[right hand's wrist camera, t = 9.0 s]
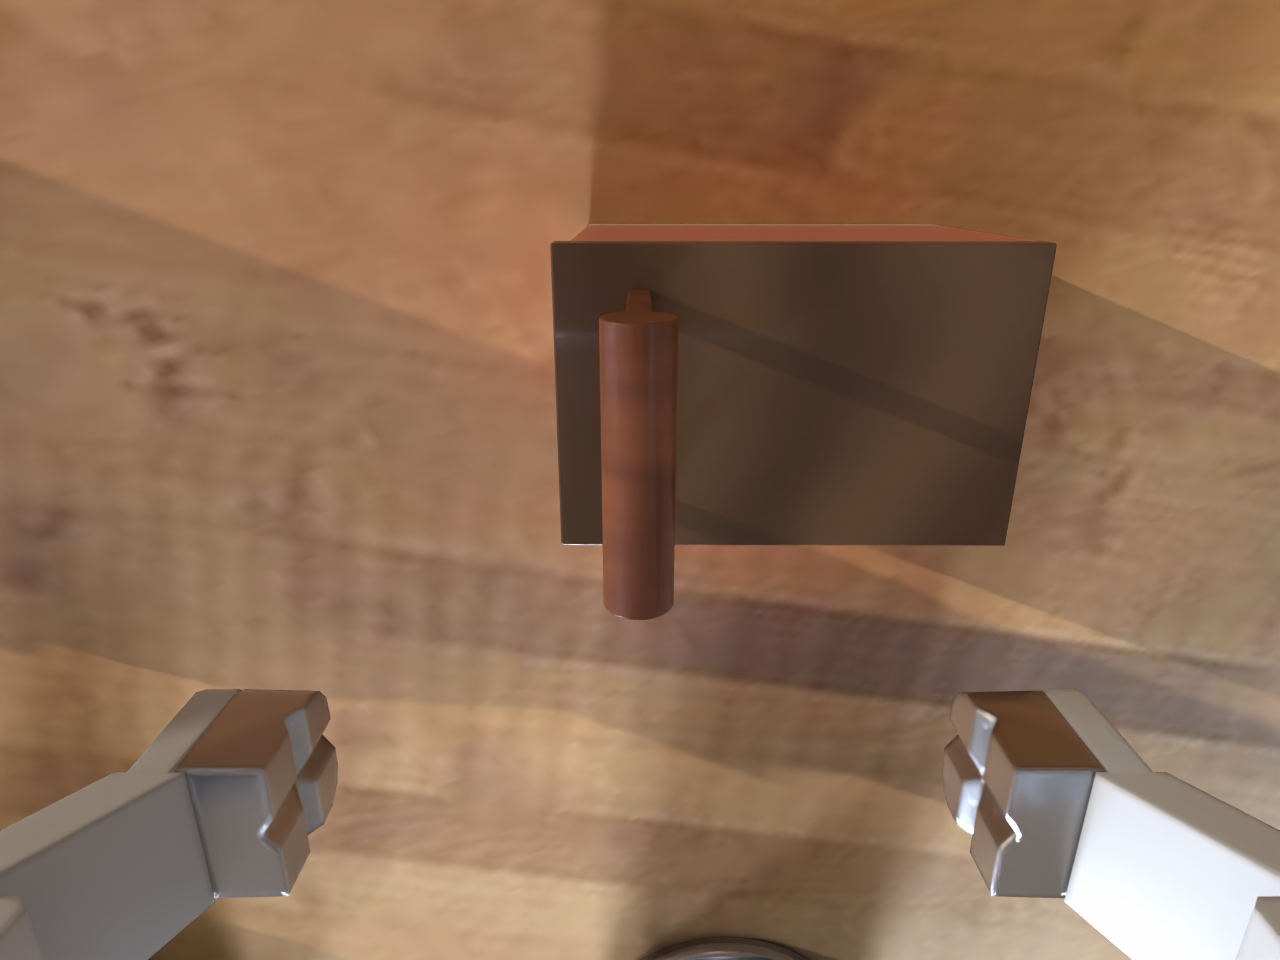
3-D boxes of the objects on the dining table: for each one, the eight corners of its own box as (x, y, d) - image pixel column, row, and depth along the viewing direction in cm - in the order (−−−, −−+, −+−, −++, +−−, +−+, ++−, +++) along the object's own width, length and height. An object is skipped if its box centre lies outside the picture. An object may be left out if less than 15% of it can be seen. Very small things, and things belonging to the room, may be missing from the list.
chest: (593, 447, 38) (577, 533, 28) (588, 223, 34) (569, 240, 25) (907, 447, 38) (993, 534, 28) (934, 224, 34) (1042, 240, 25)
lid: (563, 534, 28) (535, 661, 21) (553, 240, 25) (515, 267, 17) (993, 534, 28) (1120, 662, 21) (1043, 241, 25) (1215, 267, 17)
